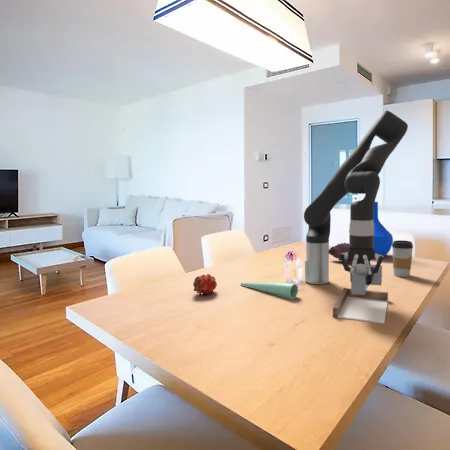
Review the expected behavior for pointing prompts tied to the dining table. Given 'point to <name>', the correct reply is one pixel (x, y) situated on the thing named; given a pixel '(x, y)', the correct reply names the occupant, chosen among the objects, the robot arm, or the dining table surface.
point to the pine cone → (340, 251)
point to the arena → (347, 292)
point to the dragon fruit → (204, 284)
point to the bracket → (364, 279)
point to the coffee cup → (402, 257)
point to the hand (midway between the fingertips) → (360, 284)
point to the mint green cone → (276, 288)
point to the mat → (364, 309)
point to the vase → (381, 235)
